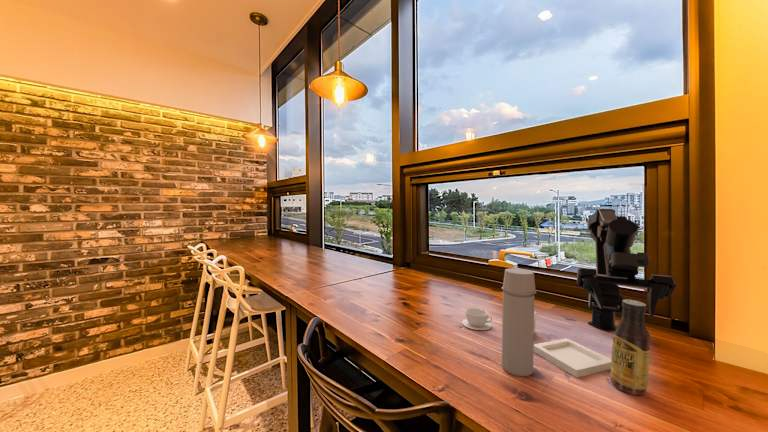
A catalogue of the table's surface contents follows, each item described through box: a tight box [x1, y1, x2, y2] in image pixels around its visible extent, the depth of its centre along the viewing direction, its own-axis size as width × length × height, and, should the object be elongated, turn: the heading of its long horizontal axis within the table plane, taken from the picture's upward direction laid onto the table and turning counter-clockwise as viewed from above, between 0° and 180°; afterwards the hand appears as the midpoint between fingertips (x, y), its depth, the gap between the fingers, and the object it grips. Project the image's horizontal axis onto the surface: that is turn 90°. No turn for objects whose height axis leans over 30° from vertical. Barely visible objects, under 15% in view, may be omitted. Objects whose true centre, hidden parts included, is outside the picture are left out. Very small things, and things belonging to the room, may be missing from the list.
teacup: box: [461, 307, 493, 331], centre depth 96 cm, size 10×10×5 cm
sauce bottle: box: [610, 299, 651, 396], centre depth 62 cm, size 6×6×20 cm
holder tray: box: [533, 337, 612, 378], centre depth 75 cm, size 13×13×2 cm
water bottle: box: [500, 267, 537, 378], centre depth 70 cm, size 9×8×25 cm
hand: (626, 311), depth 66 cm, fingers open, 9 cm apart
